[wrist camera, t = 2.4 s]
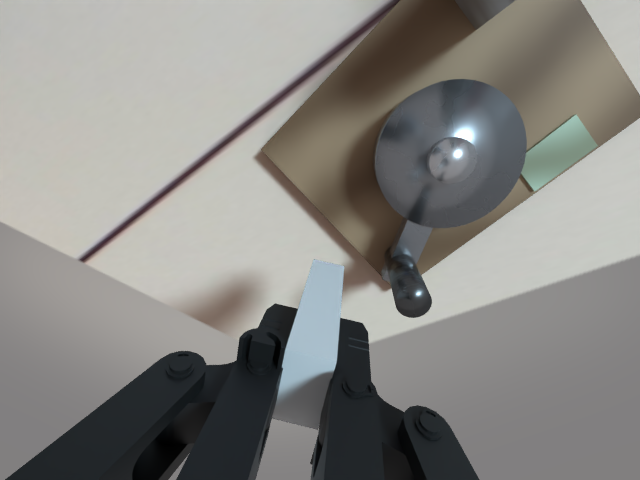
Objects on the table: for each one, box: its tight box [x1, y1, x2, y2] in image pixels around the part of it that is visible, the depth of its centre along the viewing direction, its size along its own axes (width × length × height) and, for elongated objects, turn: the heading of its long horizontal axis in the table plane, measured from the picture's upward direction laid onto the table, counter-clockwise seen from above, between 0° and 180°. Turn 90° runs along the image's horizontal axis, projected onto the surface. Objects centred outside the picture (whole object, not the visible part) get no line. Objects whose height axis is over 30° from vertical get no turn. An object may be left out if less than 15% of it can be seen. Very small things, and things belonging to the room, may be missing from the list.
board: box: [261, 0, 640, 285], centre depth 16 cm, size 14×18×9 cm
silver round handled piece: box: [373, 79, 527, 318], centre depth 17 cm, size 12×8×6 cm, turn 163°
